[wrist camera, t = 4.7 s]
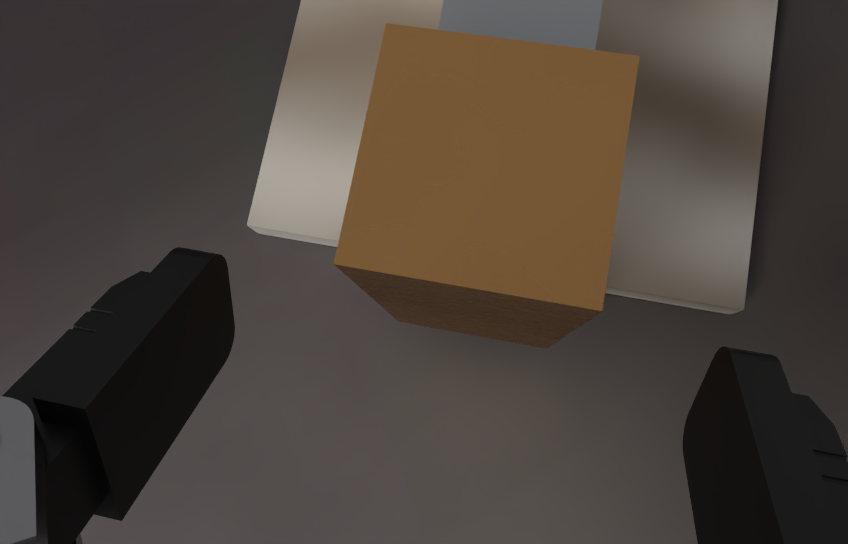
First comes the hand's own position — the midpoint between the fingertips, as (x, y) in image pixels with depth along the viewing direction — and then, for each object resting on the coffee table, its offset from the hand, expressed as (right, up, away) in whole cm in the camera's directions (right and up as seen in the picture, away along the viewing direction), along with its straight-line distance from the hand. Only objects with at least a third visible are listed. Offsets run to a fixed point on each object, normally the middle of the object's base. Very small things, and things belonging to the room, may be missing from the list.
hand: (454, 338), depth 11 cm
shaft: (+3, +11, +9) cm, 14 cm away
